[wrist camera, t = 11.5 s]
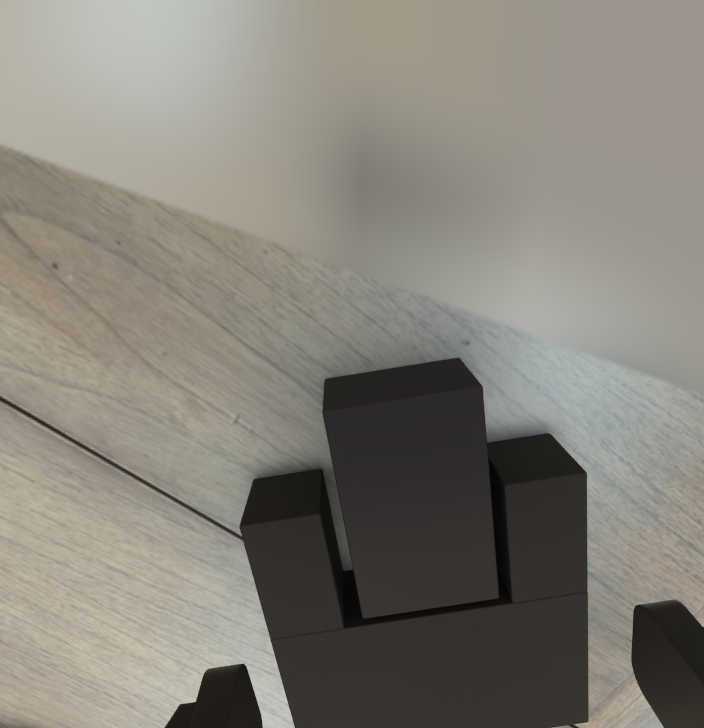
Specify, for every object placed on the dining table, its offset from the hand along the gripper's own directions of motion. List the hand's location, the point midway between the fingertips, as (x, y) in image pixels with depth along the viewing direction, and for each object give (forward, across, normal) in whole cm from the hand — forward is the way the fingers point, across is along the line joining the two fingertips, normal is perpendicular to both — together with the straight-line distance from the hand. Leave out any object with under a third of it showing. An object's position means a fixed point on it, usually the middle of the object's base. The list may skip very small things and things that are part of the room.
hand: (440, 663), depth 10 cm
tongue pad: (+12, -1, +3) cm, 13 cm away
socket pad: (+12, -1, +9) cm, 16 cm away
